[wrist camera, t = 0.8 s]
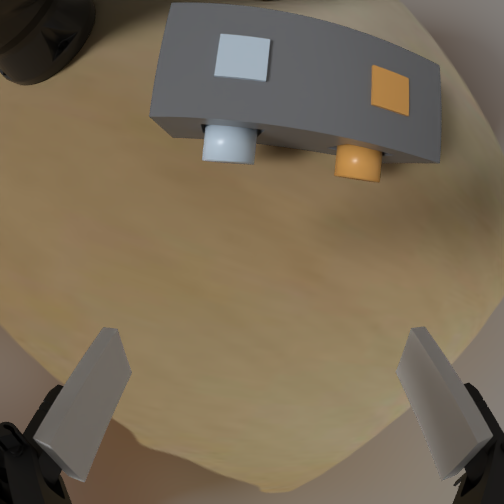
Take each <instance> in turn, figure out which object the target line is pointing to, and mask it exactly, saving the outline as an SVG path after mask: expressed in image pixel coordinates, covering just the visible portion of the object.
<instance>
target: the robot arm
mask: <svg viewBox="0 0 504 504" xmlns="http://www.w3.org/2000/svg"><path fill="white" fill-rule="evenodd" d="M94 20H95V6H94V3H93V1H92V0H0V72H1V74H2V75H3V76H4V77H5V78H6V79H7V80H9V81H11V82H14V83H17V84H19V85H33V84H36V83H39V82H42V81H44V80H46V79H48V78H49V77H51V76H53V75H54V74H56V73H57V72H58V71H60V70H61V69H62V68H63V67H64V66H65V65H66V64H68V63H69V62H70V61H71V60H72V58H73V57H74V56H75V55H76V54H77V53H78V51H79V50H80V49H81V47H82V46H83V44H84V43H85V41H86V40H87V38H88V36H89V34H90V32H91V30H92V27H93V24H94ZM131 373H132V371H131V369H130V366H129V363H128V360H127V357H126V354H125V351H124V348H123V345H122V342H121V339H120V335H119V332H118V329H114V328H105V327H103V329H102V330H101V331H100V333H99V334H98V336H97V337H96V339H95V340H94V341H93V343H92V344H91V346H90V347H89V349H88V350H87V352H86V353H85V355H84V356H83V358H82V359H81V361H80V362H79V364H78V365H77V367H76V368H75V370H74V371H73V373H72V374H71V376H70V377H69V379H68V380H67V382H66V384H65V385H64V386H61V385H57V386H56V387H54V388H53V389H52V390H51V391H49V393H48V394H47V396H46V397H45V399H44V400H43V401H44V402H43V403H42V404H41V405H40V407H39V410H37V412H36V413H35V415H34V416H33V418H32V420H31V421H30V423H29V425H28V426H27V428H26V430H25V432H24V433H23V434H22V433H21V432H20V431H19V430H18V429H17V428H16V426H15V425H14V424H12V423H10V422H2V423H0V504H72V503H71V500H70V497H69V495H68V492H67V490H66V487H65V484H64V481H63V479H62V477H61V475H60V473H61V470H63V471H64V472H65V473H66V474H67V475H68V476H70V477H72V478H75V479H77V480H80V481H82V482H85V480H86V478H87V475H88V472H89V470H90V467H91V465H92V462H93V460H94V457H95V455H96V453H97V450H98V448H99V445H100V443H101V440H102V438H103V436H104V433H105V431H106V429H107V426H108V424H109V422H110V420H111V417H112V415H113V413H114V411H115V408H116V406H117V404H118V402H119V399H120V397H121V395H122V393H123V391H124V388H125V386H126V384H127V382H128V380H129V378H130V376H131ZM396 373H397V375H398V378H399V380H400V382H401V384H402V386H403V388H404V391H405V393H406V395H407V397H408V399H409V402H410V404H411V406H412V408H413V411H414V413H415V415H416V418H417V420H418V422H419V425H420V427H421V429H422V432H423V434H424V437H425V439H426V442H427V444H428V447H429V449H430V452H431V454H432V457H433V460H434V462H435V465H436V468H437V470H438V473H439V476H440V479H441V480H445V479H447V478H449V477H452V476H455V475H456V474H458V473H459V472H460V471H461V470H462V469H463V468H465V470H466V473H465V474H463V475H462V476H461V477H460V478H459V479H458V480H457V481H456V482H455V484H454V486H456V485H457V484H458V483H460V482H461V483H460V486H459V489H458V491H457V494H456V496H455V499H454V501H453V504H504V433H503V431H502V430H501V428H500V427H499V424H498V423H497V421H496V419H495V417H494V416H493V414H492V412H491V411H490V409H489V407H487V404H486V402H485V401H484V400H483V398H482V396H481V394H480V393H479V391H478V390H477V389H476V388H475V387H474V386H472V385H471V384H470V383H466V384H463V383H462V381H461V380H460V378H459V376H458V375H457V373H456V372H455V370H454V369H453V367H452V366H451V364H450V363H449V361H448V360H447V358H446V357H445V355H444V354H443V352H442V351H441V349H440V348H439V346H438V345H437V343H436V342H435V340H434V339H433V338H432V336H431V335H430V333H429V332H428V331H427V329H426V328H425V327H417V328H411V330H410V333H409V336H408V339H407V342H406V345H405V348H404V351H403V354H402V357H401V359H400V362H399V365H398V368H397V370H396Z"/></svg>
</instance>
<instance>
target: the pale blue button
mask: <svg viewBox="0 0 504 504" xmlns="http://www.w3.org/2000/svg"><path fill="white" fill-rule="evenodd" d="M256 139H257V129H253V128H243V127H233V126H221V125H207V124H206V128H205V137H204V147H203V157H202V160H204V161H210V162H220V163H233V164H254V159H255V149H256Z"/></svg>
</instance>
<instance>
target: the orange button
mask: <svg viewBox="0 0 504 504" xmlns="http://www.w3.org/2000/svg"><path fill="white" fill-rule="evenodd" d="M381 163H382V152H381V151H377V150H373V149H369V148H364V147H360V146H356V145H351V144H344V145H339V146H337V153H336V163H335V173H334V175H335V176H338V177H344V178H349V179H356V180H362V181H369V182H380V174H381Z"/></svg>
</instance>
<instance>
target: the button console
mask: <svg viewBox="0 0 504 504" xmlns="http://www.w3.org/2000/svg"><path fill="white" fill-rule="evenodd" d="M149 117H150V118H151V119H153V120H154V121H155V122H156V123H157V124H158V125H159V126H160V127H162V128H163V129H164V130H165V131H166V132H167V133H168V134H169V135H170V136H172V137H173V138H195V139H204V137H205V128H206V124H207V125H221V126H233V127H243V128H253V129H257V139H256V144H264V145H273V146H280V147H288V148H295V149H301V150H308V151H314V152H320V153H326V154H332V155H336V153H337V146H339V145H344V144H351V145H356V146H360V147H364V148H369V149H373V150H377V151H381V152H382V163H440V151H441V82H440V67H439V65H437V64H436V63H434V62H432V61H430V60H428V59H426V58H424V57H422V56H419V55H417V54H415V53H413V52H411V51H409V50H406V49H404V48H402V47H400V46H397V45H395V44H392V43H390V42H387V41H385V40H382V39H380V38H377V37H374V36H372V35H369V34H366V33H363V32H360V31H357V30H354V29H351V28H348V27H345V26H341V25H338V24H335V23H331V22H327V21H324V20H320V19H316V18H312V17H307V16H303V15H298V14H294V13H289V12H283V11H278V10H272V9H265V8H258V7H250V6H242V5H231V4H217V3H171V7H170V11H169V15H168V19H167V23H166V27H165V31H164V36H163V40H162V45H161V49H160V54H159V59H158V65H157V70H156V76H155V82H154V88H153V94H152V100H151V107H150V115H149Z"/></svg>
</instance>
